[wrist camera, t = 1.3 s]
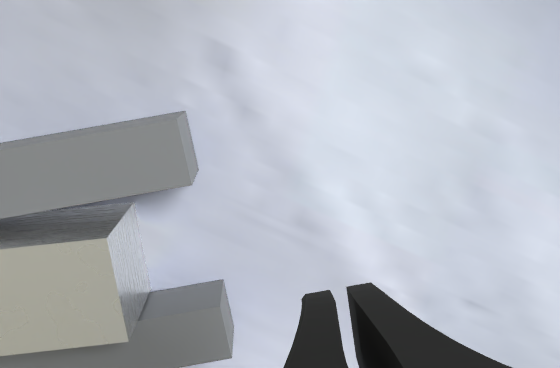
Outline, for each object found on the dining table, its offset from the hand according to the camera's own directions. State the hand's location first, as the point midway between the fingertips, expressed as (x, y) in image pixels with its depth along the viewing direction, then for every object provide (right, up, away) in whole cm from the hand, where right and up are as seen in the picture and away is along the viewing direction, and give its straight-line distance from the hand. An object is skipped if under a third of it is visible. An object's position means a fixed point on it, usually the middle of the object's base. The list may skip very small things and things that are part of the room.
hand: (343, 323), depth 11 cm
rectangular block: (-12, 0, +8) cm, 15 cm away
